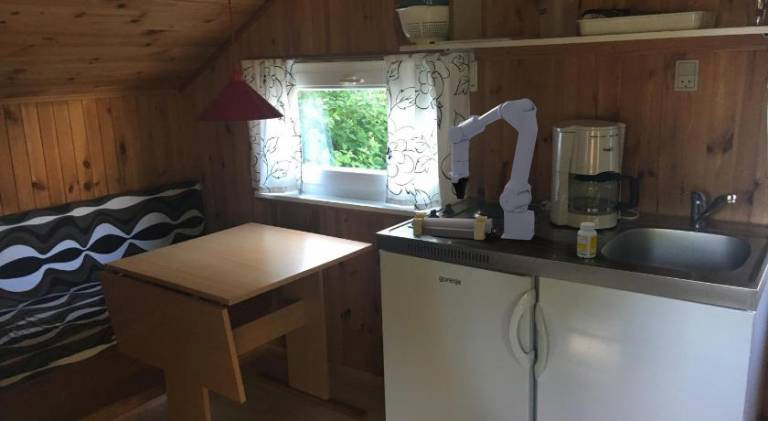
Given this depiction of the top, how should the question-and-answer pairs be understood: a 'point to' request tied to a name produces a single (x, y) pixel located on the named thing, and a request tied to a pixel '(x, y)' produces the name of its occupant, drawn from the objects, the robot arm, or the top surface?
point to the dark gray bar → (448, 232)
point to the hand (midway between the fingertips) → (460, 198)
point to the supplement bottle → (587, 240)
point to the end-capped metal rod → (478, 226)
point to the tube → (456, 223)
